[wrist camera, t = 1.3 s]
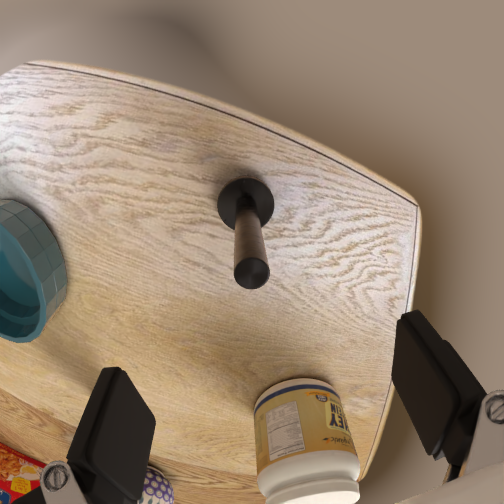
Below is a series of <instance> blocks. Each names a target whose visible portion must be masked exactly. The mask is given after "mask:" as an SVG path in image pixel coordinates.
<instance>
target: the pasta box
mask: <svg viewBox="0 0 504 504" xmlns="http://www.w3.org/2000/svg"><path fill="white" fill-rule="evenodd" d="M45 466H46V464H44V463H42V462H39V461H37V460H35V459H33V458H30V457H28V456H26V455H24V454H22V453H20V452H18V451H16V450H14V449H12V448H10V447H8V446H6V445H4V444H2V443H1V442H0V504H11V503H12V502H13V501H14V500H16V499H17V498H19V497H21V496H23V495H25V494H26V493H28V492H30V491H31V490H33V489H35V488H37V487H38V486H40V474H41V472H42V470H43V469H44V467H45Z"/></svg>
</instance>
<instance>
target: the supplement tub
mask: <svg viewBox="0 0 504 504" xmlns="http://www.w3.org/2000/svg"><path fill="white" fill-rule="evenodd" d="M254 427H255V445H256V462H257V483H258V487H259V490H260V491H261V493H262V494H263V495H264V496H265V497H267V499H266V504H354V503H356V502H357V500H358V499H359V498H360V494H359V484H358V482H356V480H357V478H358V476H359V474H360V462H359V460H358V457H357V453H356V450H355V447H354V443H353V440H352V437H351V434H350V430H349V427H348V424H347V420H346V417H345V414H344V411H343V407H342V404H341V401H340V397H339V395H338V393H337V392H336V390H335V389H334V388H333V387H332V386H330V385H329V384H327V383H325V382H323V381H320V380H316V379H308V378H301V379H292V380H287V381H284V382H280V383H278V384H276V385H274V386H272V387H271V388H269V389H268V390H266V391H265V392H264V393H263V394H262V395H261V396H260V397H259V399H258V400H257V402H256V405H255V408H254Z"/></svg>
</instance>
